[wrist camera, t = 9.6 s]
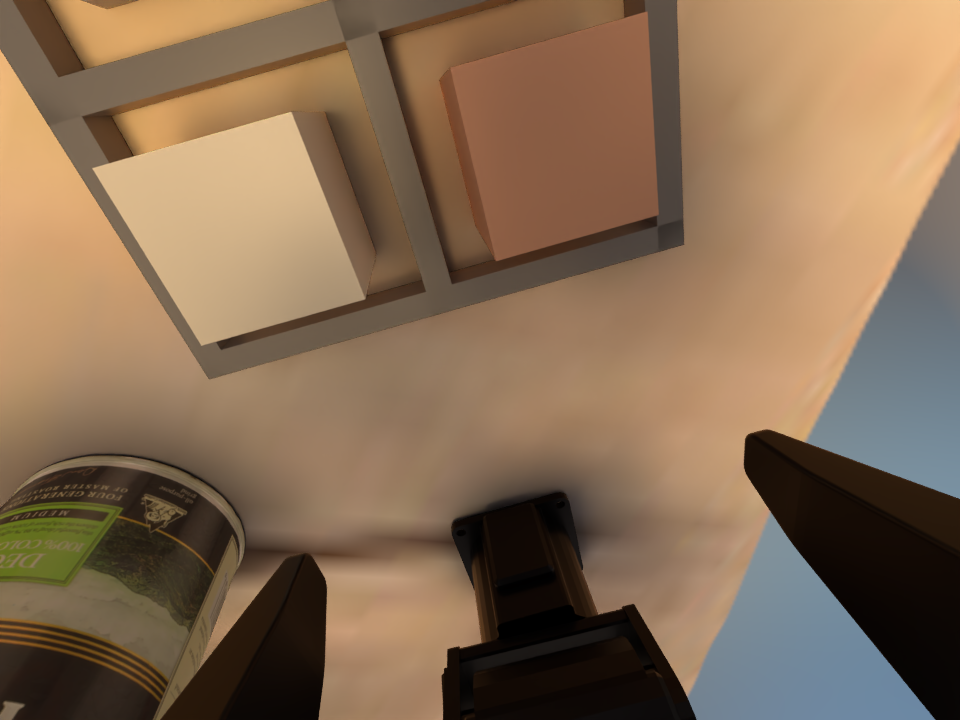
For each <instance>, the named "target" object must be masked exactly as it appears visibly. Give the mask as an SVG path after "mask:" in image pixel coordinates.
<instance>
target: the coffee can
mask: <svg viewBox="0 0 960 720" xmlns="http://www.w3.org/2000/svg"><path fill="white" fill-rule="evenodd" d="M244 548H245V538H244V532H243V529H242V525H241V522H240V520H239V518H238V517H237V516H236V514H235V512H234V511H233V509H232V507H231V506H230V505H229V504H228V503H227V502H226V500H225V499H224V498H223V497H222V496H221V495H220V494H218V493H217V492H216V491H215V490H214V489H212V488H211V487H209V486H208V485H207V484H205V483H204V482H202V481H200V480H199V479H197V478H195V477H193V476H191V475H190V474H188V473H186V472H184V471H181V470H179V469H177V468H174V467H170V466H168V465H165V464H162V463H158V462H155V461H151V460H146V459H141V458H135V457H128V456H113V455H99V456H87V457H80V458H76V459H71V460H67V461H63V462H59V463H56V464H53V465H51V466H49V467H47V468H45V469H43V470H41V471H39V472H37V473H36V474H34V475H33V476H31V477H30V478H29V479H27V480H26V481H25V482H24V483H23V484H22V485H21V486H20V487H19V488H18V489H17V490H16V492H15V493H14V495H13V497H12V498H11V499H10V500H9V501H8V502H6V503H5V504H4V505H3V506H2V507H1V508H0V720H160V719H161V718H162V716H163V715H164V714H165V713H166V711H167V710H168V709H169V707H170V706H171V705H172V704H173V702H174V701H175V700H176V698H177V697H178V696H179V695H180V693H181V692H182V691H183V690H184V688H185V687H186V686H187V684H188V683H189V682H190V681H191V679H192V678H193V677H194V675H195V674H196V673H197V670H198V668H199V665H200V662H201V660H202V657H203V655H204V652H205V649H206V647H207V645H208V642H209V640H210V637H211V634H212V632H213V629H214V626H215V624H216V621H217V618H218V616H219V613H220V611H221V608H222V605H223V603H224V600H225V597H226V595H227V592H228V589H229V587H230V584H231V582H232V579H233V577H234V575H235V573H236V570H237V569H238V567H239V565H240V563H241V561H242V558H243V554H244Z"/></svg>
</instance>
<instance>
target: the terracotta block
mask: <svg viewBox="0 0 960 720" xmlns="http://www.w3.org/2000/svg"><path fill="white" fill-rule="evenodd" d="M439 81H440V85H441V89H442V93H443V97H444V101H445V105H446V109H447V113H448V117H449V121H450V125H451V129H452V133H453V137H454V141H455V145H456V149H457V153H458V157H459V161H460V165H461V169H462V173H463V177H464V181H465V185H466V189H467V193H468V197H469V201H470V205H471V209H472V213H473V218H474V222H475V226H476V228H477V229H478V231H479V233H480V234H481V236H482V238H483V240H484V241H485V243H486V245H487V247H488V248H489V250H490V252H491V253H492V255H493V257H494V259H495V260H496V261H499V260H502V259H506V258H509V257H513V256H516V255H520V254H523V253H527V252H530V251H534V250H538V249H541V248H545V247H548V246H552V245H555V244H559V243H562V242H566V241H569V240H573V239H576V238H580V237H583V236H587V235H590V234H594V233H597V232H601V231H604V230H608V229H611V228H615V227H618V226H622V225H625V224H629V223H632V222H636V221H639V220H643V219H646V218H650V217H653V216H657V215H659V209H658V191H657V173H656V155H655V137H654V119H653V101H652V83H651V65H650V47H649V29H648V11H647V12H644V13H640V14H637V15H633V16H630V17H626V18H623V19H619V20H616V21H612V22H609V23H605V24H602V25H598V26H594V27H591V28H587V29H584V30H580V31H577V32H573V33H570V34H566V35H563V36H559V37H556V38H552V39H549V40H545V41H542V42H538V43H535V44H531V45H528V46H524V47H521V48H517V49H514V50H510V51H507V52H503V53H500V54H496V55H493V56H489V57H486V58H482V59H479V60H475V61H472V62H468V63H465V64H461V65H458V66H454V67H451V68H449V70H448V71H447V72H446V73H445V74H444V75H443V77H442V78H441V79H440V80H439Z"/></svg>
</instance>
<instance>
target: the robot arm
mask: <svg viewBox="0 0 960 720" xmlns="http://www.w3.org/2000/svg"><path fill="white" fill-rule="evenodd" d="M744 469H745V472H746V474H747V476H748V478H749V480H750V481H751V483H752V484H753V486H754V487H755V489H756V490H757V492H758V493H759V495H760V496H761V498H762V499H763V501H764V502H765V504H766V505H767V507H768V508H769V510H770V511H771V513H772V514H773V516H774V517H775V519H776V520H777V522H778V523H779V525H780V526H781V528H782V529H783V531H784V533H785V534H786V535H787V537H788V538H789V540H790V541H791V542H792V544H793V545H794V546H795V548H796V549H797V550H798V552H799V553H800V554H801V555H802V556H803V558H804V559H805V560H806V561H807V563H808V564H809V565H810V566H811V568H812V569H813V570H814V571H815V573H816V574H817V575H818V576H819V577H820V579H821V580H822V581H823V582H824V584H826V586H827V587H828V588H829V590H830V591H831V592H832V593H833V595H834V596H835V597H836V598H837V599H838V601H839V602H840V603H841V604H842V606H843V607H844V608H845V609H846V611H847V612H848V613H849V614H850V615H851V617H852V618H853V619H854V620H855V622H856V623H857V624H858V625H859V627H860V628H861V629H862V630H863V631H864V633H865V634H866V635H867V636H868V638H869V639H870V640H871V641H872V642H873V644H874V645H875V646H876V647H877V649H878V650H879V651H880V652H881V653H882V655H883V656H884V657H885V658H886V660H887V661H888V662H889V663H890V664H891V666H892V667H893V668H894V669H895V671H896V672H897V673H898V674H899V675H900V677H901V678H902V679H903V681H904V682H905V683H906V684H907V685H908V687H909V688H910V689H911V690H912V692H913V693H914V694H915V695H916V696H917V697H918V699H919V700H920V701H921V703H922V704H923V705H924V706H925V707H926V709H927V710H928V711H929V712H930V714H931V715H932V716H933V717H934V719H935V720H960V499H958V498H956V497H953V496H950V495H947V494H945V493H942V492H939V491H936V490H934V489H931V488H928V487H925V486H923V485H920V484H917V483H914V482H912V481H909V480H906V479H903V478H901V477H898V476H895V475H892V474H890V473H887V472H884V471H882V470H879V469H876V468H873V467H871V466H868V465H865V464H863V463H860V462H857V461H854V460H852V459H849V458H846V457H843V456H841V455H838V454H835V453H832V452H830V451H827V450H824V449H821V448H819V447H816V446H813V445H810V444H808V443H805V442H802V441H800V440H797V439H794V438H791V437H789V436H786V435H783V434H780V433H778V432H775V431H772V430H761V431H757V432H754V433H750V434H748V435H747V436H746V438H745V450H744ZM559 501H561V502H559ZM557 502H559V503H557ZM451 529H452V536H453V539H454V541H455V544H456V546H457V549H458V551H459V553H460V556H461V558H462V561H463V563H464V566H465V568H466V571H467V573H468V576H469V578H470V581H471V583H472V585H473V588H474V590H475V596H476V603H477V611H478V618H479V625H480V633H481V640H482V643H480V644H476V645H472V646H468V647H464V648H460V647H459V646H458V647H454V648H450V649H448V650H447V668H444V674H443V675H442V692H443V720H696V717H695V714H694V712H693V710H692V707H691V705H690V703H689V700H688V698H687V696H686V694H685V692H684V690H683V687H682V686H681V684H680V682H679V680H678V678H677V676H676V675H675V673H674V671H673V669H672V668H671V666H670V664H669V663H668V661H667V659H666V658H665V656H664V654H663V653H662V651H661V649H660V647H659V646H658V644H657V642H656V641H655V639H654V637H653V636H652V634H651V632H650V631H649V629H648V627H647V625H646V624H645V622H644V620H643V619H642V617H641V615H640V614H639V612H638V610H637V608H636V607H635V605H634V604H631V605H627V606H623V607H622V609H620V610H616V611H611V612H607V613H603V614H599V615H598V612H597V610H596V607H595V604H594V602H593V599H592V596H591V594H590V591H589V588H588V586H587V583H586V580H585V578H584V575H583V572H582V570H583V565H582V560H581V555H580V550H579V546H578V541H577V536H576V531H575V527H574V522H573V517H572V512H571V508H570V503H569V500H568V498H567V496H566V494H564V493H561V492H560V493H555V494H551V495H547V496H544V497H540V498H537V499H533V500H530V501H526V502H523V503H519V504H516V505H512V506H509V507H505V508H502V509H498V510H495V511H491V512H487V513H484V514H480V515H477V516H473V517H470V518H466V519H463V520H459V521H457V522H455V523H453V524H452V527H451ZM462 529H463V530H462ZM326 604H327V585H326V581H325V578H324V576H323V574H322V572H321V571H320V569H319V567H318V566H317V564H316V562H315V560H314V559H313V557H312V556H311V554H309V553H307V552H304V553H300V554H297V555H293V556H290V557H288V558H286V559H285V560H284V561H283V563H282V564H281V565H280V567H279V568H278V569H277V570H276V572H275V573H274V574H273V576H272V577H271V578H270V579H269V581H268V582H267V583H266V585H265V586H264V587H263V588H262V590H261V591H260V592H259V593H258V595H257V596H256V597H255V599H254V600H253V601H252V602H251V604H250V605H249V606H248V608H247V609H246V610H245V611H244V613H243V614H242V615H241V617H240V618H239V619H238V620H237V622H236V623H235V624H234V625H233V627H232V628H231V629H230V631H229V632H228V633H227V634H226V636H225V637H224V638H223V640H222V641H221V642H220V643H219V645H218V646H217V647H216V649H215V650H214V651H213V652H212V654H211V655H210V656H209V658H208V659H207V660H206V661H205V663H204V664H203V665H202V666H201V668H200V669H199V670H198V672H197V673H196V674H195V675H194V677H193V678H192V679H191V681H190V682H189V683H188V684H187V686H186V687H185V688H184V690H183V691H182V692H181V693H180V695H179V696H178V697H177V698H176V700H175V701H174V702H173V704H172V705H171V706H170V707H169V709H168V710H167V711H166V713H165V714H164V715H163V716H162V718H161V719H160V720H318V718H319V710H320V702H321V695H322V687H323V678H324V668H325V642H326Z"/></svg>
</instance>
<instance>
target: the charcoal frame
mask: <svg viewBox="0 0 960 720" xmlns="http://www.w3.org/2000/svg"><path fill="white" fill-rule="evenodd" d="M82 1H85V2H88V3H91V4H93V5H96V6H99V7H102V8H105V9H109V8H112V7H116V6H119V5H123V4H126V3H130V2H133V1H137V0H82ZM513 1H517V0H329V1H325V2H322V3H318V4H315V5H311V6H308V7H304V8H301V9H297V10H294V11H290V12H287V13H283V14H280V15H276V16H273V17H269V18H266V19H262V20H259V21H255V22H252V23H248V24H245V25H241V26H237V27H234V28H230V29H227V30H223V31H220V32H216V33H213V34H209V35H206V36H202V37H199V38H195V39H192V40H188V41H185V42H181V43H178V44H174V45H171V46H167V47H164V48H160V49H157V50H153V51H150V52H146V53H143V54H139V55H136V56H132V57H129V58H125V59H122V60H118V61H114V62H111V63H107V64H104V65H100V66H97V67H93V68H90V69H86V70H84V68H83V67H82V65H81V63H80V61H79V60H78V58H77V56H76V54H75V53H74V51H73V49H72V47H71V46H70V44H69V42H68V40H67V38H66V37H65V35H64V33H63V31H62V30H61V28H60V26H59V24H58V23H57V21H56V19H55V17H54V16H53V14H52V12H51V10H50V9H49V7H48V5H47V3H46V1H45V0H0V50H1V51H2V53H3V54H4V56H5V57H6V59H7V61H8V62H9V64H10V65H11V67H12V69H13V70H14V72H15V73H16V75H17V76H18V78H19V80H20V81H21V83H22V84H23V86H24V88H25V89H26V91H27V92H28V94H29V95H30V97H31V99H32V100H33V102H34V103H35V105H36V107H37V108H38V110H39V111H40V113H41V114H42V116H43V118H44V119H45V121H46V122H47V124H48V125H49V127H50V129H51V130H52V132H53V133H54V135H55V137H56V138H57V140H58V141H59V143H60V144H61V146H62V148H63V149H64V151H65V152H66V154H67V156H68V157H69V159H70V160H71V162H72V163H73V165H74V167H75V168H76V170H77V171H78V173H79V175H80V176H81V178H82V179H83V181H84V182H85V184H86V186H87V187H88V189H89V190H90V192H91V193H92V195H93V197H94V198H95V200H96V201H97V203H98V205H99V206H100V208H101V209H102V211H103V212H104V214H105V216H106V217H107V219H108V220H109V222H110V224H111V225H112V227H113V228H114V230H115V231H116V233H117V235H118V236H119V238H120V239H121V241H122V243H123V244H124V246H125V247H126V249H127V250H128V252H129V254H130V255H131V257H132V258H133V260H134V261H135V263H136V265H137V266H138V268H139V269H140V271H141V273H142V274H143V276H144V277H145V279H146V280H147V282H148V284H149V285H150V287H151V288H152V290H153V292H154V293H155V295H156V296H157V298H158V299H159V301H160V303H161V304H162V306H163V307H164V309H165V311H166V312H167V314H168V315H169V317H170V318H171V320H172V322H173V323H174V325H175V326H176V328H177V330H178V331H179V333H180V334H181V336H182V337H183V339H184V341H185V342H186V344H187V345H188V347H189V348H190V350H191V352H192V353H193V355H194V356H195V358H196V360H197V361H198V363H199V364H200V366H201V367H202V369H203V371H204V372H205V374H206V375H207V377H208V379H212V378H216V377H219V376H223V375H226V374H230V373H233V372H237V371H240V370H244V369H247V368H251V367H254V366H258V365H261V364H265V363H269V362H272V361H276V360H279V359H283V358H286V357H290V356H293V355H297V354H300V353H304V352H307V351H311V350H314V349H318V348H321V347H325V346H328V345H332V344H335V343H339V342H343V341H346V340H350V339H353V338H357V337H360V336H364V335H367V334H371V333H374V332H378V331H381V330H385V329H388V328H392V327H395V326H399V325H402V324H406V323H409V322H413V321H417V320H420V319H424V318H427V317H431V316H434V315H438V314H441V313H445V312H448V311H452V310H455V309H459V308H462V307H466V306H469V305H473V304H476V303H480V302H484V301H487V300H491V299H494V298H498V297H501V296H505V295H508V294H512V293H515V292H519V291H522V290H526V289H529V288H533V287H536V286H540V285H543V284H547V283H550V282H554V281H558V280H561V279H565V278H568V277H572V276H575V275H579V274H582V273H586V272H589V271H593V270H596V269H600V268H603V267H607V266H610V265H614V264H617V263H621V262H624V261H628V260H632V259H635V258H639V257H642V256H646V255H649V254H653V253H656V252H660V251H663V250H667V249H670V248H674V247H677V246H681V245H684V229H683V195H682V161H681V127H680V93H679V58H678V24H677V0H624V7H625V18H626V17H630V16H633V15H637V14H640V13H644V12H647V11H648V29H649V47H650V65H651V83H652V101H653V119H654V137H655V155H656V173H657V191H658V209H659V215H657V216H653V217H650V218H646V219H643V220H639V221H636V222H632V223H629V224H625V225H622V226H618V227H615V228H611V229H608V230H604V231H601V232H597V233H594V234H590V235H587V236H583V237H580V238H576V239H573V240H569V241H566V242H562V243H559V244H555V245H552V246H548V247H545V248H541V249H538V250H534V251H530V252H527V253H523V254H520V255H516V256H513V257H509V258H506V259H502V260H499V261H496V260H491V261H488V262H484V263H481V264H477V265H474V266H470V267H467V268H463V269H460V270H456V271H453V272H449V271H448V267H447V264H446V261H445V257H444V254H443V250H442V247H441V243H440V240H439V237H438V233H437V230H436V226H435V223H434V219H433V216H432V212H431V209H430V206H429V202H428V199H427V195H426V192H425V188H424V185H423V182H422V178H421V175H420V171H419V168H418V164H417V161H416V157H415V154H414V151H413V147H412V144H411V140H410V137H409V133H408V130H407V127H406V123H405V120H404V116H403V113H402V109H401V106H400V103H399V99H398V96H397V92H396V89H395V85H394V82H393V78H392V75H391V72H390V68H389V65H388V61H387V58H386V54H385V51H384V48H383V44H382V41H381V39H383V38H387V37H390V36H394V35H397V34H401V33H404V32H408V31H411V30H415V29H418V28H422V27H426V26H429V25H433V24H436V23H440V22H443V21H447V20H450V19H454V18H457V17H461V16H464V15H468V14H471V13H475V12H478V11H482V10H485V9H489V8H492V7H496V6H499V5H503V4H506V3H510V2H513ZM345 49H348V51H349V55H350V58H351V61H352V64H353V67H354V70H355V73H356V76H357V79H358V82H359V86H360V89H361V92H362V95H363V98H364V101H365V104H366V107H367V110H368V113H369V116H370V120H371V123H372V126H373V129H374V132H375V135H376V138H377V141H378V144H379V147H380V150H381V154H382V157H383V160H384V163H385V166H386V169H387V172H388V175H389V178H390V181H391V185H392V188H393V191H394V194H395V197H396V200H397V203H398V206H399V209H400V212H401V215H402V219H403V222H404V225H405V228H406V231H407V234H408V237H409V240H410V243H411V246H412V249H413V253H414V256H415V259H416V262H417V265H418V268H419V271H420V274H421V277H422V280H421V281H417V282H414V283H410V284H407V285H403V286H400V287H396V288H393V289H389V290H386V291H382V292H379V293H375V294H372V295H368V296H366V295H367V291H368V286H369V282H370V278H371V274H372V270H373V266H374V262H375V258H376V252H375V249H374V246H373V243H372V241H371V238H370V235H369V232H368V230H367V227H366V224H365V221H364V219H363V216H362V213H361V210H360V208H359V205H358V202H357V200H356V197H355V194H354V191H353V189H352V186H351V183H350V180H349V178H348V175H347V172H346V169H345V167H344V164H343V161H342V158H341V156H340V153H339V150H338V147H337V145H336V142H335V139H334V136H333V134H332V131H331V128H330V125H329V123H328V120H327V117H326V114H325V112H288V113H285V114H281V115H278V116H274V117H271V118H267V119H264V120H260V121H257V122H253V123H249V124H246V125H242V126H239V127H235V128H232V129H228V130H225V131H221V132H218V133H214V134H211V135H207V136H204V137H200V138H197V139H193V140H190V141H186V142H183V143H179V144H176V145H172V146H169V147H165V148H162V149H158V150H155V151H151V152H147V153H144V154H140V155H137V156H133V155H132V153H131V151H130V149H129V148H128V146H127V144H126V142H125V141H124V139H123V137H122V135H121V134H120V132H119V130H118V128H117V126H116V125H115V123H114V121H113V119H112V118H111V116H113V115H116V114H120V113H123V112H127V111H130V110H134V109H137V108H141V107H144V106H148V105H151V104H155V103H158V102H162V101H165V100H169V99H172V98H176V97H179V96H183V95H186V94H190V93H193V92H197V91H201V90H204V89H208V88H211V87H215V86H218V85H222V84H225V83H229V82H232V81H236V80H239V79H243V78H246V77H250V76H253V75H257V74H260V73H264V72H267V71H271V70H274V69H278V68H281V67H285V66H288V65H292V64H295V63H299V62H302V61H306V60H310V59H313V58H317V57H320V56H324V55H327V54H331V53H334V52H338V51H341V50H345Z"/></svg>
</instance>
